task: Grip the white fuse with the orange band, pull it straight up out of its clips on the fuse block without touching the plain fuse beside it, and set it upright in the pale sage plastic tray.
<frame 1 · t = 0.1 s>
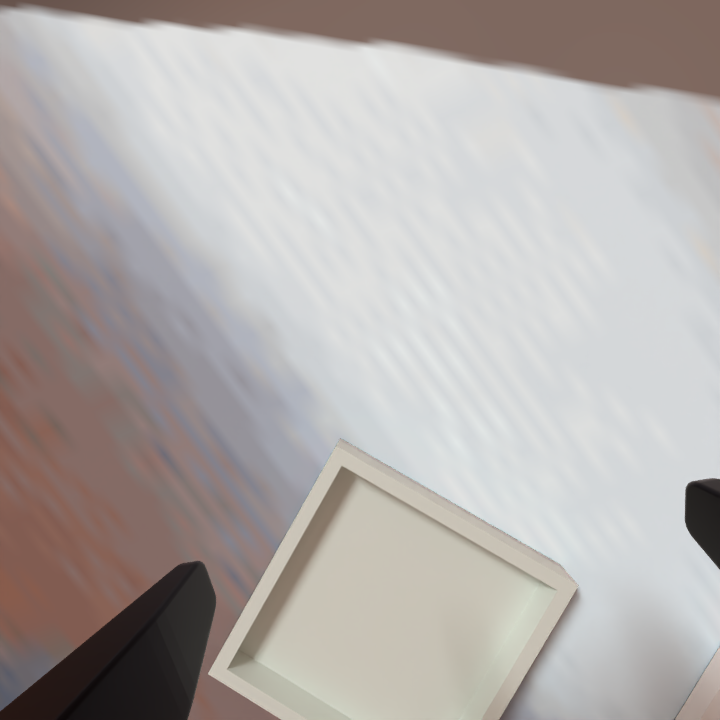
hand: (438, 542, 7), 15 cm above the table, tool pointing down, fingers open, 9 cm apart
tray: (387, 606, 22), on the table
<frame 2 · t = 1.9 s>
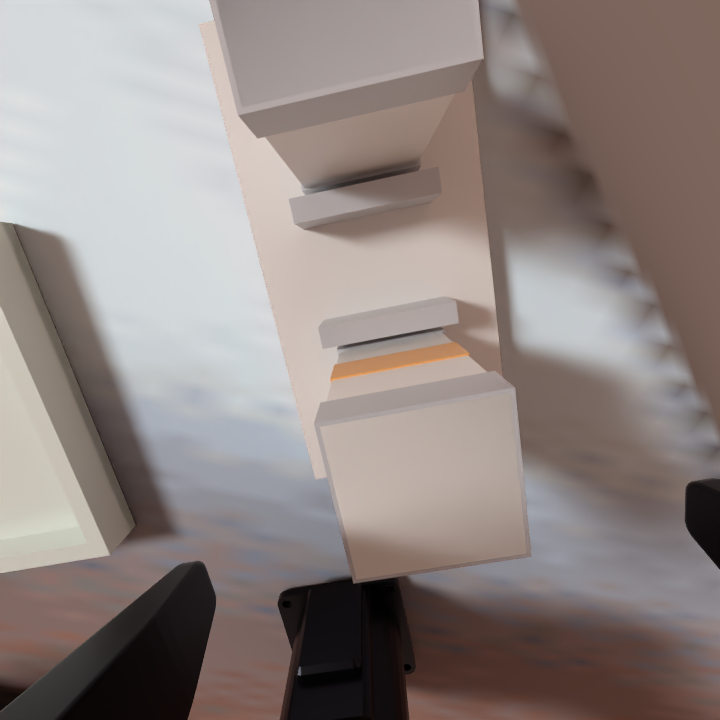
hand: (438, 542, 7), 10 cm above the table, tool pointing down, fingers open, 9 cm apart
fuse block: (374, 263, 16), on the table
plain fuse: (350, 124, 13), point 1 cm above the table, touching fuse block
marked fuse: (396, 381, 16), point 1 cm above the table, touching fuse block
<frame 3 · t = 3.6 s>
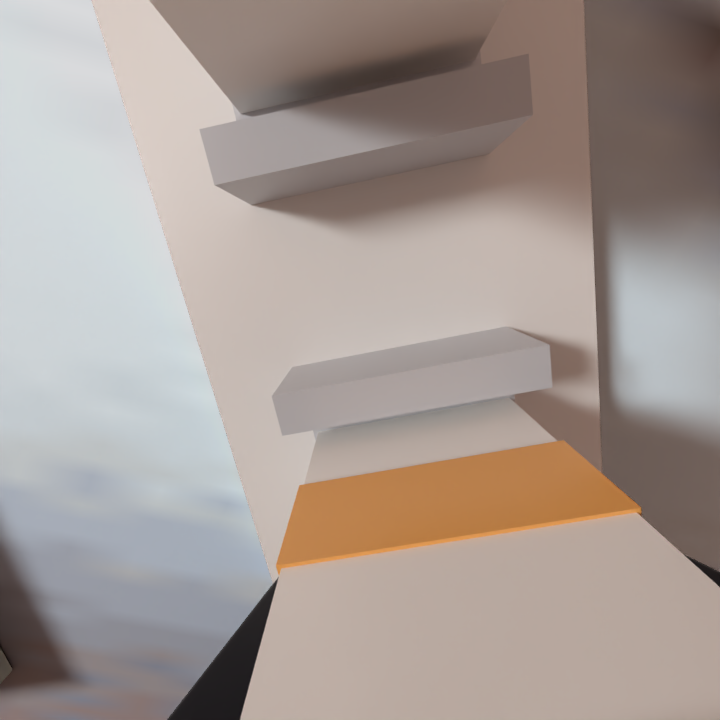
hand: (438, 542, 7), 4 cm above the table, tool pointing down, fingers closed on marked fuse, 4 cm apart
fuse block: (381, 267, 9), on the table
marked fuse: (418, 469, 9), point 1 cm above the table, touching fuse block, gripper
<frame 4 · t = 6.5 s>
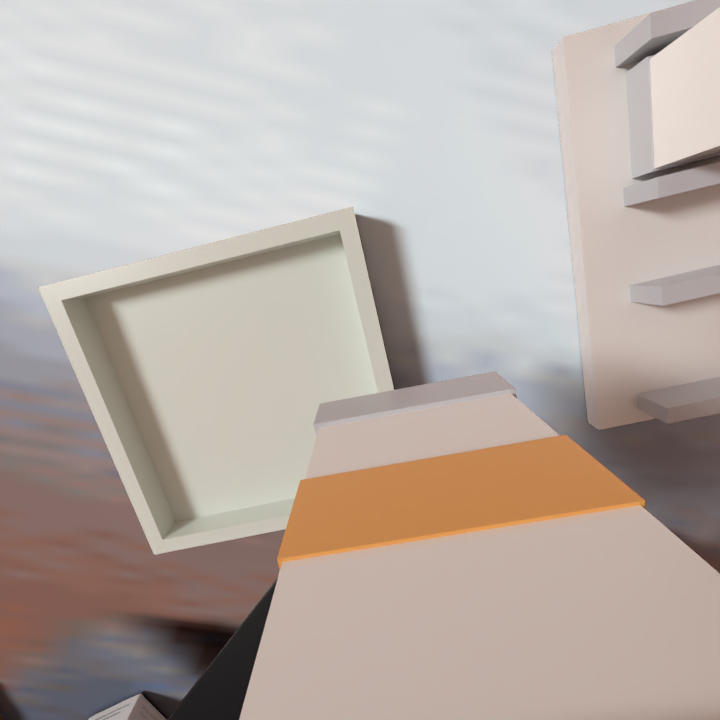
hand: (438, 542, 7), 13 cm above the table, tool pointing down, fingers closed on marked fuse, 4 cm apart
fuse block: (665, 235, 18), on the table
plain fuse: (679, 114, 16), point 1 cm above the table, touching fuse block
tray: (253, 389, 20), on the table
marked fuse: (419, 465, 9), point 11 cm above the table, touching gripper
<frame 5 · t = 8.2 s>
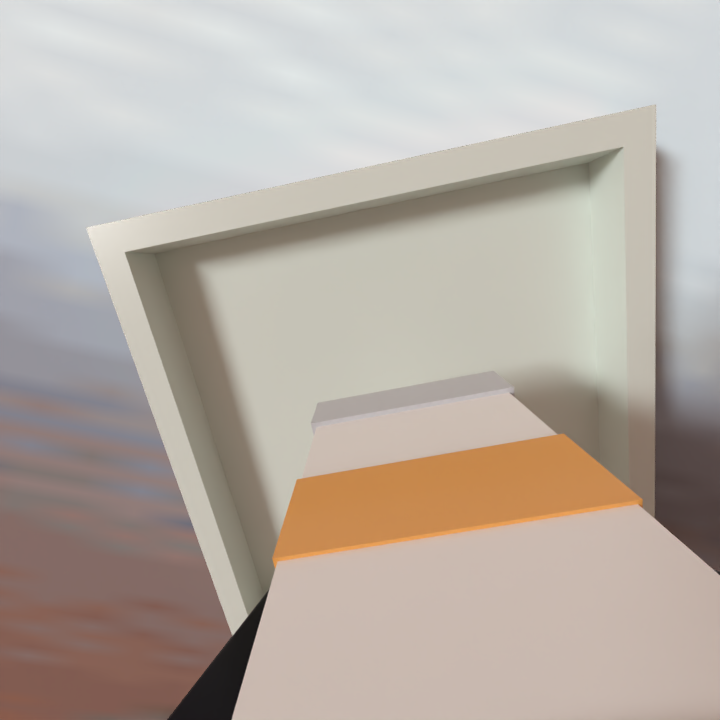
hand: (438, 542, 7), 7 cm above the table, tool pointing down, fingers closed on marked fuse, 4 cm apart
tray: (399, 406, 13), on the table
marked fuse: (418, 465, 9), point 4 cm above the table, touching gripper
when the fingers open (4 cm above the table, at t = 9.4 s): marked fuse drops 1 cm, resting on tray.
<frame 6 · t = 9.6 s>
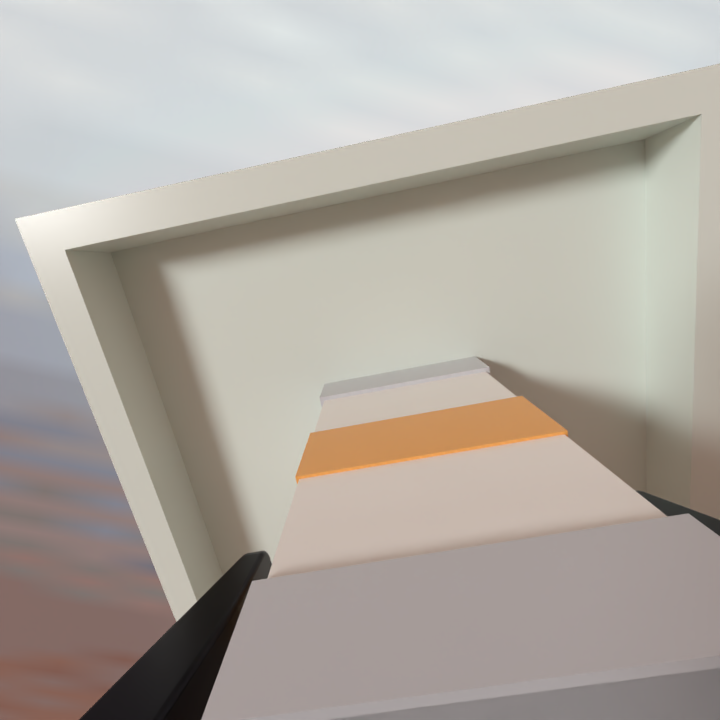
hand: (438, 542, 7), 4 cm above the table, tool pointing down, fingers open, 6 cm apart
tray: (408, 434, 11), on the table
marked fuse: (410, 439, 11), point 1 cm above the table, touching tray
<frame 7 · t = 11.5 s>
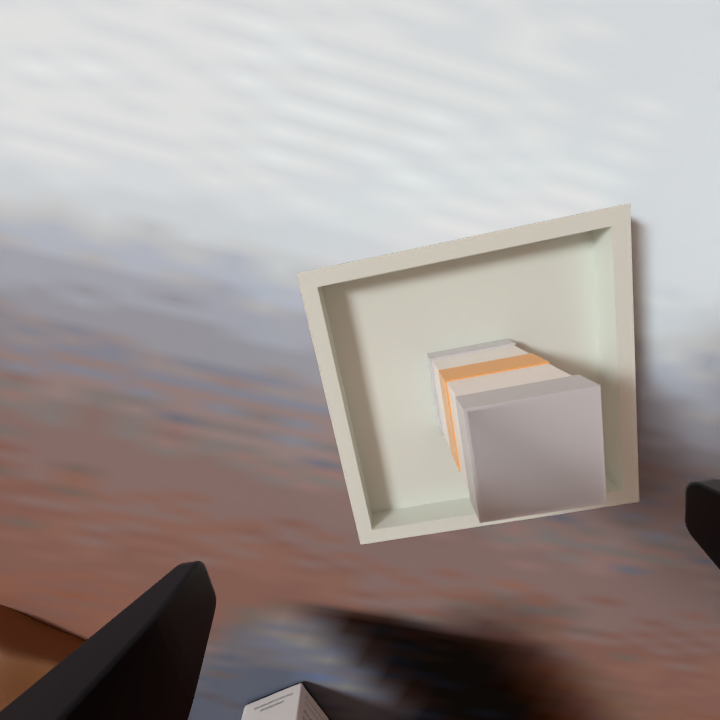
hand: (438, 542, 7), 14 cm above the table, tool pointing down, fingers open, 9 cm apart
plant: (28, 709, 28), on the table
tray: (468, 382, 20), on the table
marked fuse: (471, 383, 20), resting on tray
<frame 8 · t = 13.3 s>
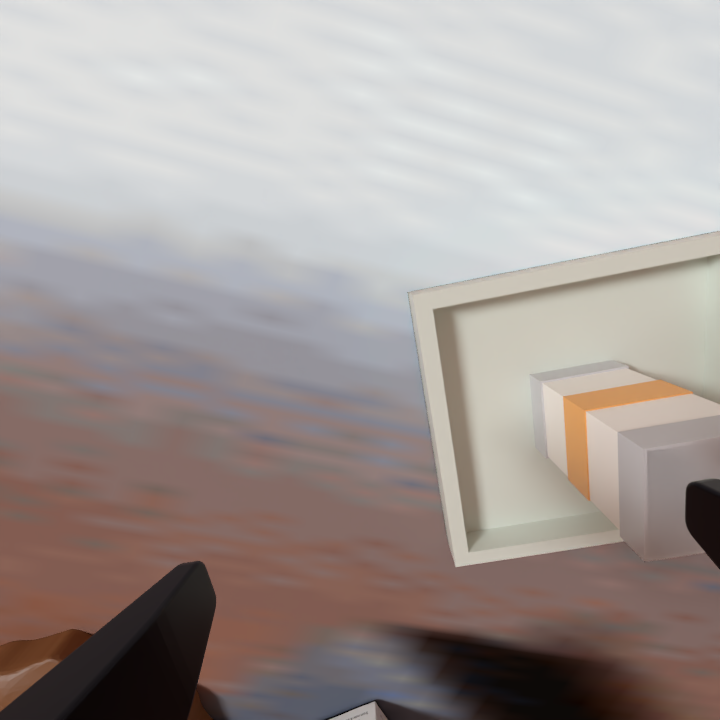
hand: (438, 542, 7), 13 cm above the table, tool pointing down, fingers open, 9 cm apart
tray: (567, 403, 20), on the table
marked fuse: (572, 404, 19), resting on tray
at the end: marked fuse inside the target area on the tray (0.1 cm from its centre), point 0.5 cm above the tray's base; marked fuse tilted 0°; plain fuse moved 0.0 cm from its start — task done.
